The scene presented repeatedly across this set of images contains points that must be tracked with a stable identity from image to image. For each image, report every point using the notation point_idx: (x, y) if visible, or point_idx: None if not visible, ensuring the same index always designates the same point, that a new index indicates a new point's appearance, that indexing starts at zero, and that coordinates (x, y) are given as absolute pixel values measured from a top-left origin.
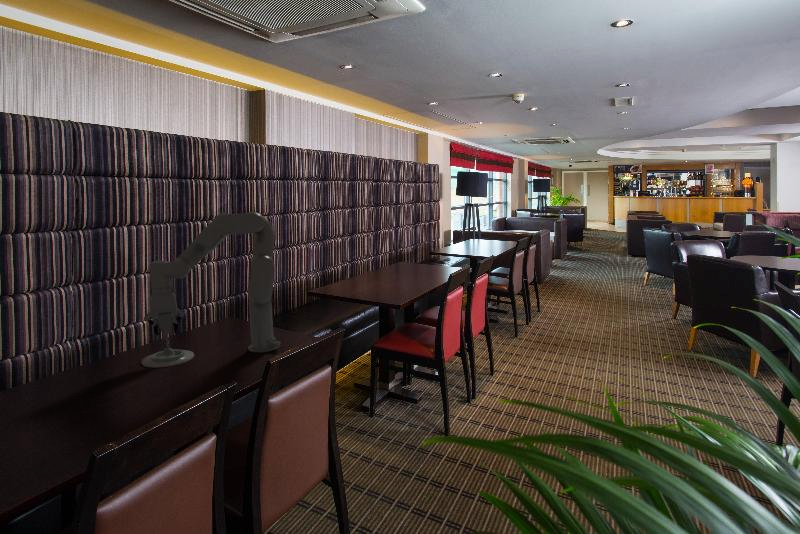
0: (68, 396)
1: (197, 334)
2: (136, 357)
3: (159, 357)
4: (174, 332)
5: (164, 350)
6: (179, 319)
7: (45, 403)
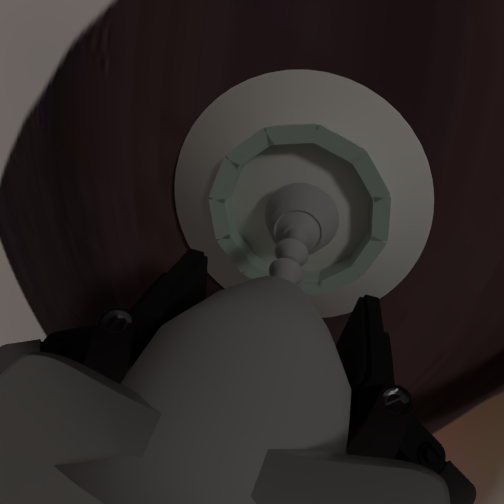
0: (72, 320)
1: None
2: (163, 66)
3: (259, 176)
4: (337, 351)
5: (273, 238)
6: (397, 459)
7: (56, 321)
